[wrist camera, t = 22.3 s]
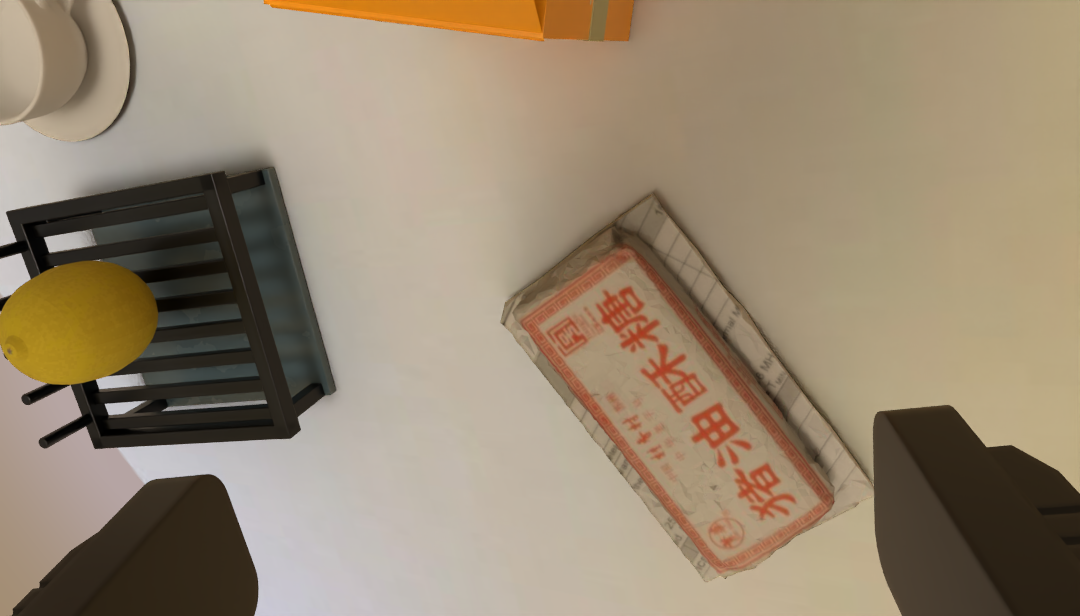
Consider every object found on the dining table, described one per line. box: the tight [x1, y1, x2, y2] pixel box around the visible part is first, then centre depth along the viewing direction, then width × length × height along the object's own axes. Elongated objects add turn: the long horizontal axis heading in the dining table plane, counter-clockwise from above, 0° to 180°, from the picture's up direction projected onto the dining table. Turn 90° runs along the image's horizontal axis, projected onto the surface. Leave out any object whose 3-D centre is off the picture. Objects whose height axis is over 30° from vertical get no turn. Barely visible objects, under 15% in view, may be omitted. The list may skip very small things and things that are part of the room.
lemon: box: [0, 261, 158, 385], centre depth 37 cm, size 6×6×8 cm
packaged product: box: [500, 194, 874, 582], centre depth 37 cm, size 18×5×10 cm
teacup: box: [0, 0, 130, 141], centre depth 40 cm, size 10×10×5 cm
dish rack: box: [0, 167, 336, 449], centre depth 41 cm, size 14×13×8 cm
